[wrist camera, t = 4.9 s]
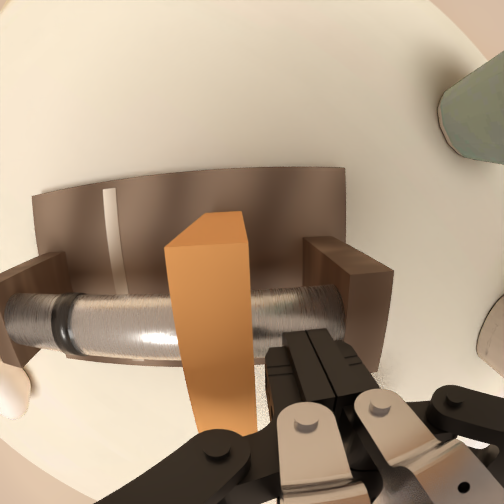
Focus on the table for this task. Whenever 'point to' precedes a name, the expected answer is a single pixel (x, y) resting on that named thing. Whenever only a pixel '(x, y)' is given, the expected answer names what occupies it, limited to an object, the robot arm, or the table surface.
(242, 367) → the square ring
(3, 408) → the plain white apple
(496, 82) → the disposable coffee cup
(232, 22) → the table surface
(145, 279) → the pipe stand
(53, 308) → the pipe
